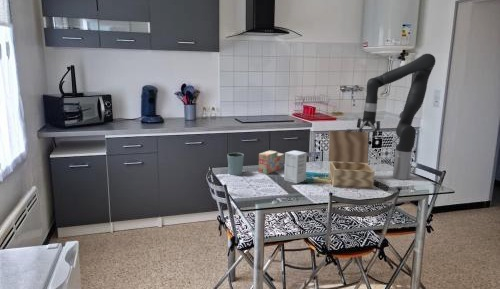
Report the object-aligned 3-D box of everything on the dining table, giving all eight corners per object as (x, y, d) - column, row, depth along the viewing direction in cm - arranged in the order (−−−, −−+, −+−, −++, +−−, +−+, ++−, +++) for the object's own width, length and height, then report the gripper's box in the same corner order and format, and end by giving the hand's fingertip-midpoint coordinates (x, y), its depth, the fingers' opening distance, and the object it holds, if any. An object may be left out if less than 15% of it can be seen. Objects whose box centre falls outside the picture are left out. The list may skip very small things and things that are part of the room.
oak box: (365, 179, 229) (366, 163, 227) (372, 188, 211) (374, 171, 209) (328, 177, 230) (329, 161, 228) (333, 186, 213) (334, 169, 211)
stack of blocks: (276, 165, 253) (277, 147, 251) (284, 167, 250) (285, 149, 247) (258, 172, 236) (258, 153, 234) (266, 174, 233) (267, 155, 230)
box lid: (368, 162, 226) (367, 162, 229) (368, 130, 228) (367, 131, 231) (329, 160, 227) (328, 161, 230) (330, 128, 229) (329, 129, 233)
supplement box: (306, 180, 223) (307, 152, 219) (296, 183, 216) (298, 155, 213) (292, 176, 229) (294, 149, 226) (283, 180, 223) (284, 152, 219)
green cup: (244, 171, 237) (244, 153, 234) (242, 176, 227) (242, 156, 225) (228, 170, 238) (228, 152, 235) (225, 175, 228) (226, 156, 226)
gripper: (383, 111, 235) (380, 137, 238) (362, 108, 244) (359, 133, 247) (378, 112, 229) (375, 138, 232) (356, 109, 238) (353, 134, 241)
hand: (367, 135), depth 240 cm, fingers open, 8 cm apart
